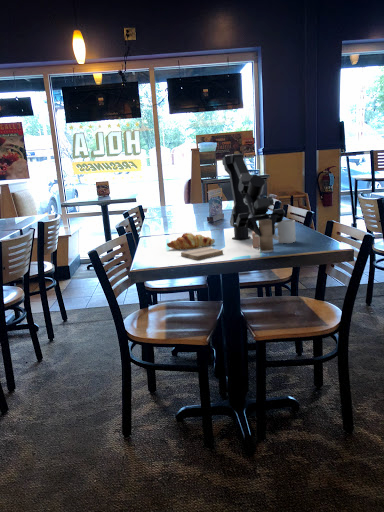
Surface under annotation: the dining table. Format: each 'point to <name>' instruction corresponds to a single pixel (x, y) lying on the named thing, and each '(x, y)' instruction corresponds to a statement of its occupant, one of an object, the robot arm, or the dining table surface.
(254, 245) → the marked block
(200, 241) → the croissant
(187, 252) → the walnut board
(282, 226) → the cup
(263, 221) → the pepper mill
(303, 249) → the dining table surface
